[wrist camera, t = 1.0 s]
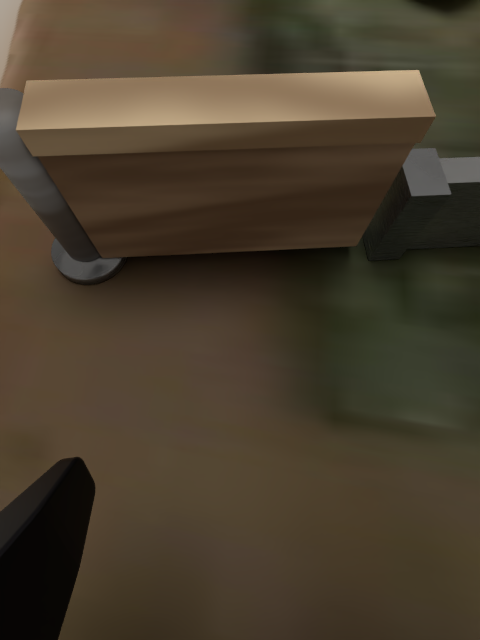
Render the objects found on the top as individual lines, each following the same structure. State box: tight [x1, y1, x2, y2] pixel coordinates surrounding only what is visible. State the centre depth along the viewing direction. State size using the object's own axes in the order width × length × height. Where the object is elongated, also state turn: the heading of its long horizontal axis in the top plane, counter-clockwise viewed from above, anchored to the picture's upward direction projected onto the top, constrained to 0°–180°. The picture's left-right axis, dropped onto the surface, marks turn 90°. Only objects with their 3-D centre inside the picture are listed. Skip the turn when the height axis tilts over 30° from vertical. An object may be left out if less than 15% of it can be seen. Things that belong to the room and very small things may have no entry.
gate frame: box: [51, 148, 480, 285], centre depth 21 cm, size 4×32×6 cm, turn 94°
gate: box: [0, 70, 436, 262], centre depth 18 cm, size 3×18×9 cm, turn 94°
